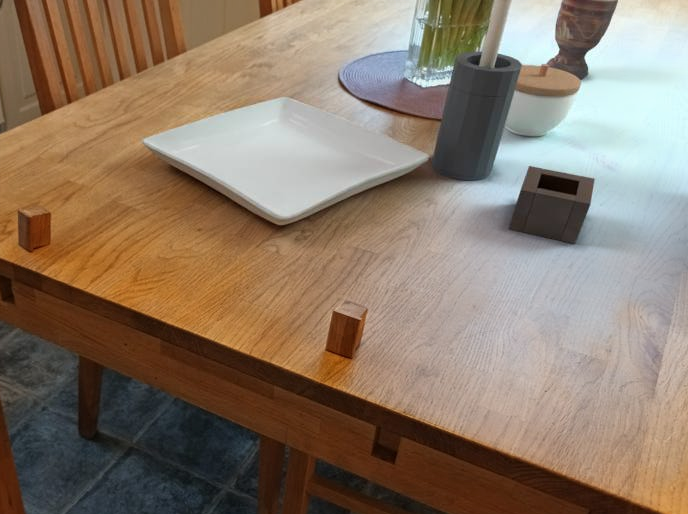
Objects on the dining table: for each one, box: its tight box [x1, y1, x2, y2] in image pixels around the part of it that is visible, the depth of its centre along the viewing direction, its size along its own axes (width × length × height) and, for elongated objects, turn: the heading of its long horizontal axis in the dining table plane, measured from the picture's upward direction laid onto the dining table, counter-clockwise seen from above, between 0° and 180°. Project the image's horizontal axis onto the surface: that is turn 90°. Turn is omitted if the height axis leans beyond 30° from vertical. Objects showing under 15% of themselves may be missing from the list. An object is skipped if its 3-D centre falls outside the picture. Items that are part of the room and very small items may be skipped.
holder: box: [507, 165, 596, 245], centre depth 84 cm, size 7×7×5 cm
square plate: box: [141, 96, 430, 226], centre depth 94 cm, size 27×27×4 cm
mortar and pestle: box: [545, 0, 619, 80], centre depth 124 cm, size 12×9×20 cm
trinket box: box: [504, 63, 582, 138], centre depth 106 cm, size 11×11×9 cm
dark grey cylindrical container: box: [431, 51, 523, 181], centre depth 93 cm, size 8×8×14 cm
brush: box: [479, 0, 513, 68], centre depth 90 cm, size 3×3×22 cm
